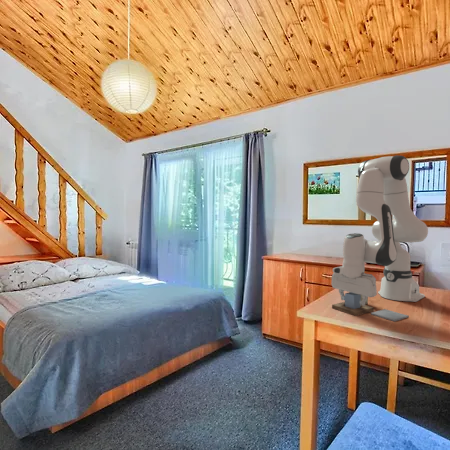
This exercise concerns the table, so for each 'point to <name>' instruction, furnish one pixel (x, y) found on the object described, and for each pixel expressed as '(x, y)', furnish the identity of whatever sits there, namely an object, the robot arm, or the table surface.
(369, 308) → the walnut stand
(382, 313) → the ceramic pad
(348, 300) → the blue block
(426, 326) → the table surface
